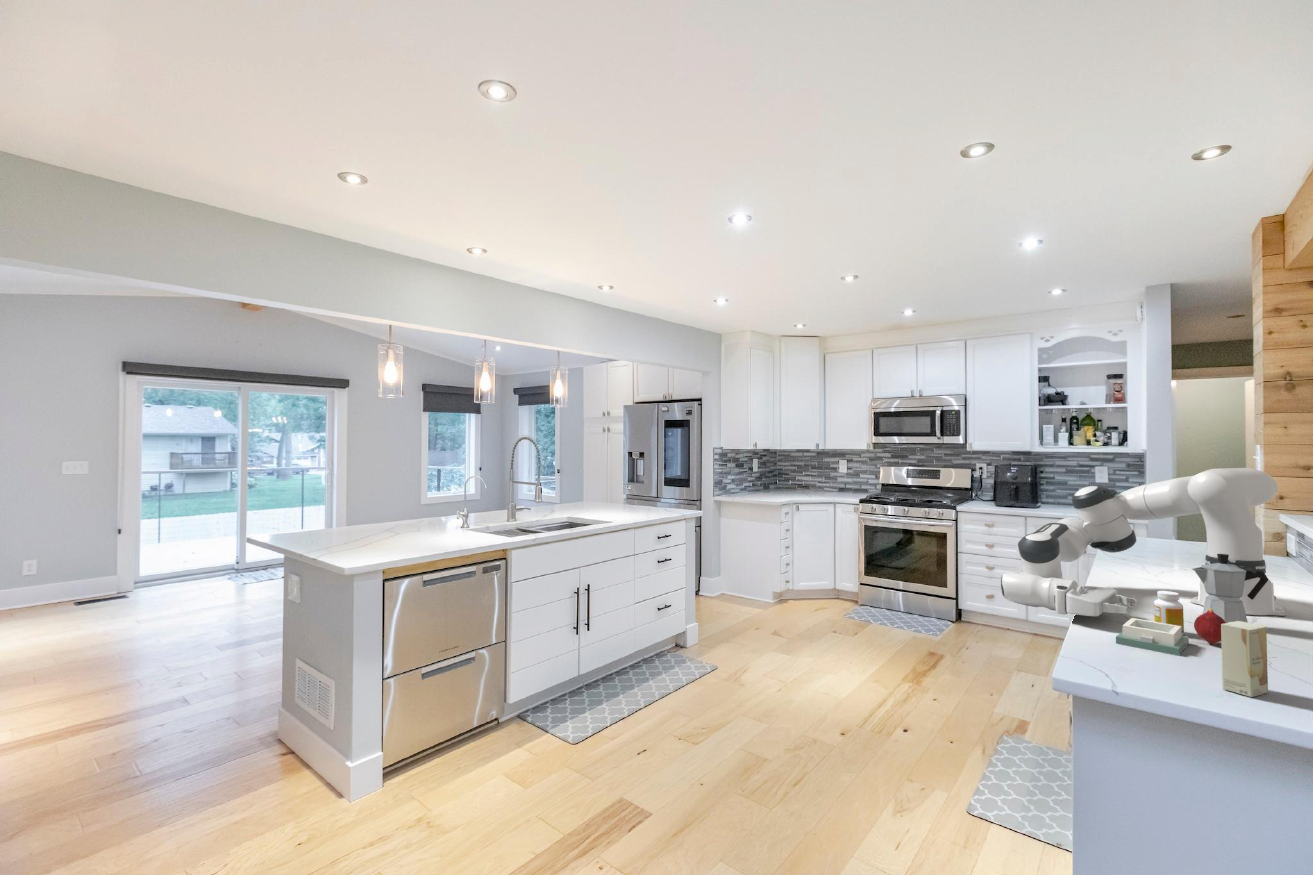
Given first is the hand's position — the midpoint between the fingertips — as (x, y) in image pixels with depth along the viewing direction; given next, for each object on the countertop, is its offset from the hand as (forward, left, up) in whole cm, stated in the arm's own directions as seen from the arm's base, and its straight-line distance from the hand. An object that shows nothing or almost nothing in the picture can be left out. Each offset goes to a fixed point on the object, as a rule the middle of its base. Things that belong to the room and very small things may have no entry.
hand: (1131, 606), depth 149 cm
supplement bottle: (0, +7, -5) cm, 9 cm away
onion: (+3, +15, -5) cm, 16 cm away
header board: (+13, +6, -5) cm, 15 cm away
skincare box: (+34, +23, -5) cm, 41 cm away
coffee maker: (-18, +16, -5) cm, 25 cm away
